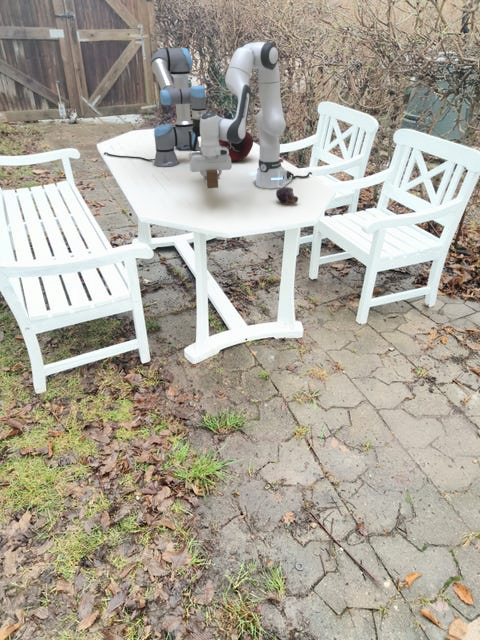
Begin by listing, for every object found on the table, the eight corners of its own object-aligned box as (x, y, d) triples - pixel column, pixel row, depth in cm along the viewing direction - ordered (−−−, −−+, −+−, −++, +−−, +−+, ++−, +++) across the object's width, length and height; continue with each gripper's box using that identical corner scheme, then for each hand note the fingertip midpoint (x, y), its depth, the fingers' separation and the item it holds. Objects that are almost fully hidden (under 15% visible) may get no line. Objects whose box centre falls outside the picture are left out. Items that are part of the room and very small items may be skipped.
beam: (196, 161, 261) (195, 147, 256) (205, 160, 261) (204, 146, 257) (207, 188, 219) (206, 172, 214) (218, 187, 219) (217, 171, 215)
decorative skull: (214, 132, 305) (214, 129, 282) (248, 124, 304) (250, 121, 281) (221, 164, 312) (221, 164, 288) (254, 157, 311) (257, 156, 288)
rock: (287, 200, 238) (271, 203, 234) (287, 184, 235) (271, 186, 231) (300, 203, 229) (283, 206, 225) (300, 186, 225) (283, 189, 221)
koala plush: (199, 150, 321) (197, 121, 310) (174, 151, 320) (171, 121, 309) (199, 144, 335) (197, 116, 324) (175, 145, 334) (172, 117, 323)
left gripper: (183, 120, 239) (186, 164, 252) (217, 118, 242) (218, 162, 256) (181, 117, 245) (184, 161, 258) (214, 116, 248) (216, 159, 262)
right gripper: (189, 153, 209) (191, 182, 217) (232, 150, 212) (232, 180, 220) (187, 150, 214) (189, 178, 222) (229, 147, 217) (230, 176, 225)
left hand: (201, 161), depth 257 cm, fingers closed on beam, 5 cm apart
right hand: (211, 179), depth 221 cm, fingers closed on beam, 5 cm apart
